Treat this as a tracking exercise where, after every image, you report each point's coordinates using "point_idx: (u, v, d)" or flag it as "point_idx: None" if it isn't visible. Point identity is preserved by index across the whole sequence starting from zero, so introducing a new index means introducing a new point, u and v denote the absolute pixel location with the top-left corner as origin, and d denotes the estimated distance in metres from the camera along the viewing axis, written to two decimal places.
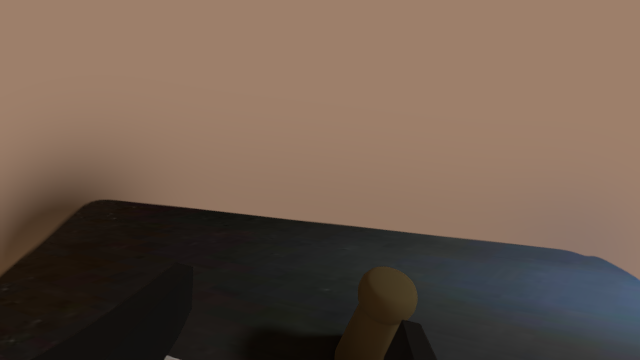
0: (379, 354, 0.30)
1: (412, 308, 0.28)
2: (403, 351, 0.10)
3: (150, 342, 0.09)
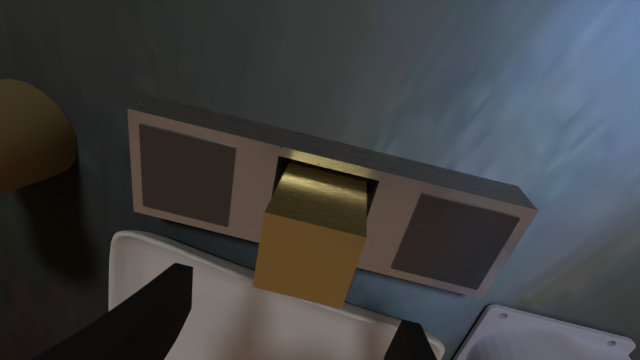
0: None
1: None
2: (403, 351, 0.10)
3: (150, 342, 0.09)
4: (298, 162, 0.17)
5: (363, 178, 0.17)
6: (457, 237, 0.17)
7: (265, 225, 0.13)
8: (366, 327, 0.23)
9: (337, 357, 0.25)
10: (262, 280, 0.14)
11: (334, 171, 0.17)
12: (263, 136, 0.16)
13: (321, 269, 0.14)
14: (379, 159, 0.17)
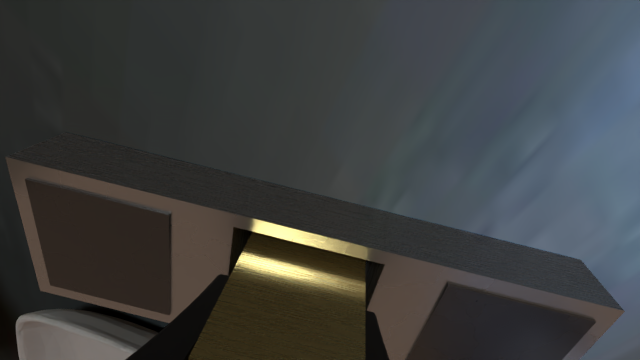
0: None
1: None
2: None
3: None
4: None
5: None
6: (497, 340, 0.12)
7: None
8: None
9: None
10: None
11: None
12: (212, 195, 0.11)
13: None
14: (384, 226, 0.12)
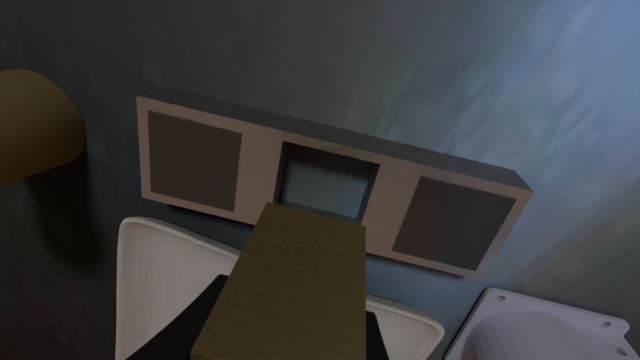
0: (5, 150, 0.16)
1: None
2: None
3: None
4: (266, 228, 0.12)
5: (361, 251, 0.12)
6: (455, 219, 0.17)
7: None
8: None
9: None
10: None
11: (319, 241, 0.12)
12: (267, 122, 0.17)
13: None
14: (380, 144, 0.18)
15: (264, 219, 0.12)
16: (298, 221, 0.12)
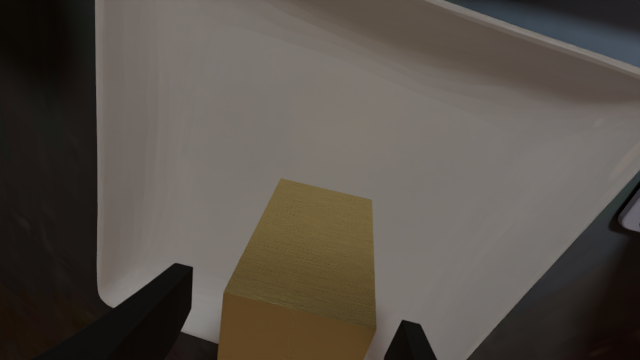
0: None
1: None
2: (403, 351, 0.10)
3: (149, 342, 0.09)
4: (282, 199, 0.13)
5: (368, 219, 0.13)
6: None
7: (226, 309, 0.09)
8: (517, 114, 0.14)
9: (452, 189, 0.16)
10: None
11: (330, 210, 0.13)
12: None
13: None
14: None
15: (279, 192, 0.13)
16: (310, 194, 0.14)
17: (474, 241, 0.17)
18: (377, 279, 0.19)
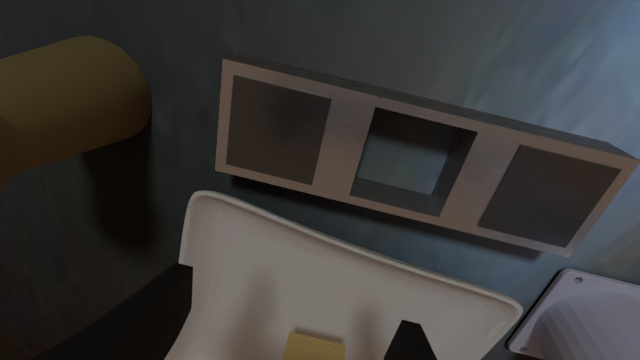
0: (85, 115, 0.16)
1: None
2: (403, 351, 0.10)
3: (149, 342, 0.09)
4: (290, 354, 0.22)
5: None
6: (551, 192, 0.17)
7: None
8: (435, 292, 0.23)
9: None
10: None
11: None
12: (357, 88, 0.16)
13: None
14: (472, 113, 0.17)
15: (288, 347, 0.22)
16: (307, 346, 0.22)
17: None
18: None
